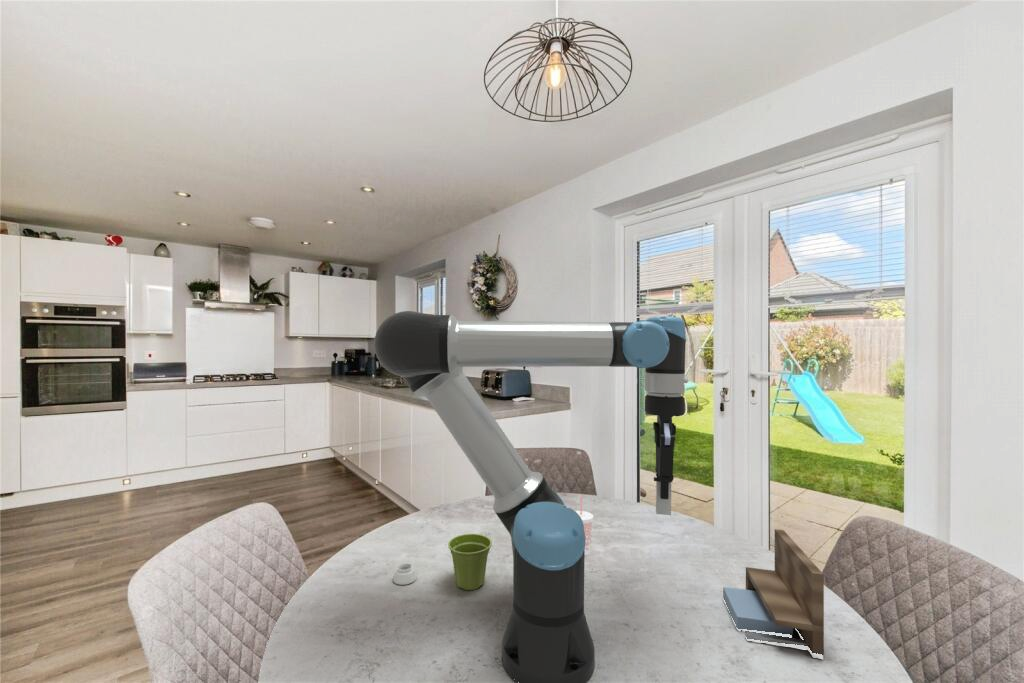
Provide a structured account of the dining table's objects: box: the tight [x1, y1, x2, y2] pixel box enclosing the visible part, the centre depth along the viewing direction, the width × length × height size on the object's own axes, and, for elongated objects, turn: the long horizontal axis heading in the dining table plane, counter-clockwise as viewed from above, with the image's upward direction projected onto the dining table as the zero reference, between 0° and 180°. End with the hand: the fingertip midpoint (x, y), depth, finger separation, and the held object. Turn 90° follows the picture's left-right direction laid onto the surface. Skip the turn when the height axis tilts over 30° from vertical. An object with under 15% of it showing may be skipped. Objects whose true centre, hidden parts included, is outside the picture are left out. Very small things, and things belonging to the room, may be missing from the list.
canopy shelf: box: [744, 528, 825, 656], centre depth 81 cm, size 18×11×14 cm, turn 166°
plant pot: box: [447, 533, 493, 591], centre depth 93 cm, size 9×9×9 cm
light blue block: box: [722, 586, 794, 636], centre depth 82 cm, size 10×9×3 cm
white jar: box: [392, 562, 418, 586], centre depth 94 cm, size 5×3×5 cm
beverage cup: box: [574, 494, 594, 557], centre depth 108 cm, size 6×6×14 cm
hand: (663, 513), depth 86 cm, fingers closed
